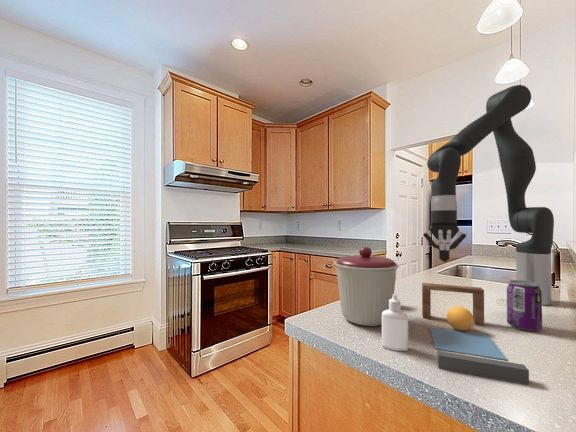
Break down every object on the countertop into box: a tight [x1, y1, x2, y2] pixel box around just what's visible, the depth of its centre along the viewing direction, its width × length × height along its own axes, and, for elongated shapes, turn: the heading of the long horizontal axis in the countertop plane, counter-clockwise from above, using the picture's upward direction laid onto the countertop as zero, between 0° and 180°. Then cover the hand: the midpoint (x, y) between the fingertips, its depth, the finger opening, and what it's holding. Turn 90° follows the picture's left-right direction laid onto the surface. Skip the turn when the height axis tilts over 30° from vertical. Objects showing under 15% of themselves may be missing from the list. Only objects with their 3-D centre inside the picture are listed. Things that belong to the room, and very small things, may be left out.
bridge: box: [421, 282, 485, 327], centre depth 78 cm, size 3×15×10 cm, turn 68°
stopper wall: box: [436, 350, 530, 385], centre depth 51 cm, size 2×14×2 cm, turn 68°
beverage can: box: [506, 279, 543, 332], centre depth 72 cm, size 7×7×12 cm
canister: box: [333, 246, 400, 327], centre depth 78 cm, size 18×18×21 cm
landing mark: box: [429, 326, 508, 361], centre depth 64 cm, size 13×13×1 cm
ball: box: [446, 305, 475, 332], centre depth 71 cm, size 6×6×6 cm
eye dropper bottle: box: [381, 293, 409, 352], centre depth 61 cm, size 4×6×12 cm
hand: (444, 261), depth 90 cm, fingers closed
